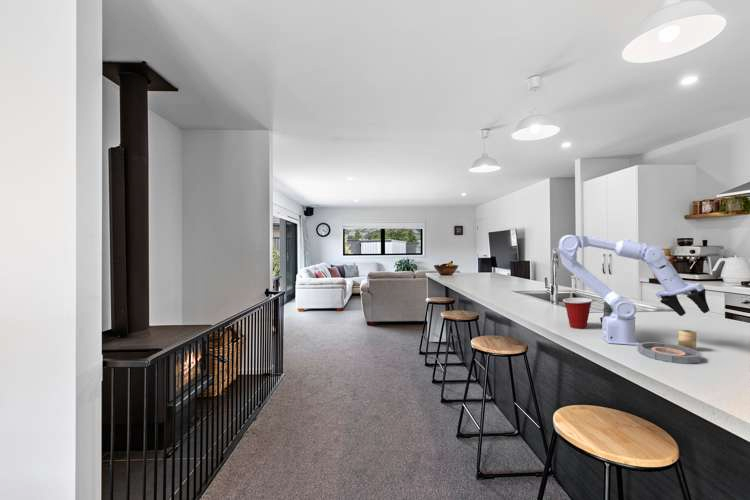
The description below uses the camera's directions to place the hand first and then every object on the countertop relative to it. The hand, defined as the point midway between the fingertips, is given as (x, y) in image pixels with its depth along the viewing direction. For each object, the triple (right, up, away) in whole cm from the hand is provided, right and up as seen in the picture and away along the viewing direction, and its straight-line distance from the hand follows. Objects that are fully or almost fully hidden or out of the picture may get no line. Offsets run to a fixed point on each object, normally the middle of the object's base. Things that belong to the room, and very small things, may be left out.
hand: (694, 313), depth 113 cm
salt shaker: (-9, -12, +29) cm, 33 cm away
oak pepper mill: (-2, -12, 0) cm, 12 cm away
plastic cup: (-21, -12, +30) cm, 39 cm away
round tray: (-14, -12, -6) cm, 19 cm away
